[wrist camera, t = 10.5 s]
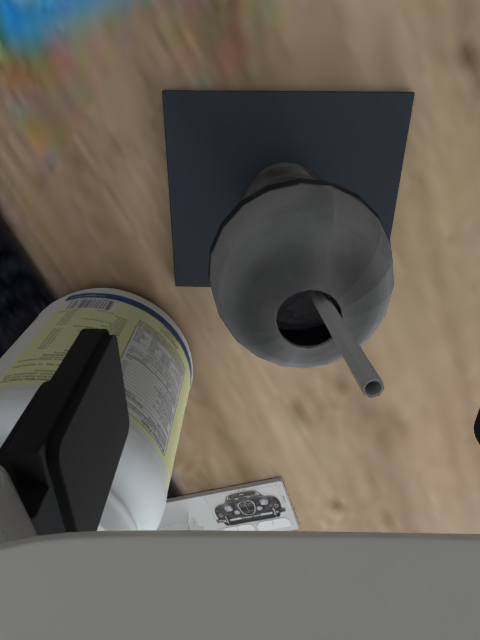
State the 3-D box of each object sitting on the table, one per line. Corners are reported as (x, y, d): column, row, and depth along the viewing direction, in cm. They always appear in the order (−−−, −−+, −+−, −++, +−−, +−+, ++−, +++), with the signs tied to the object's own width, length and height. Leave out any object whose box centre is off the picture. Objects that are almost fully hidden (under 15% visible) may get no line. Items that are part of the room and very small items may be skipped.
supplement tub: (112, 437, 39) (22, 665, 24) (1, 336, 34) (-194, 539, 19) (228, 372, 35) (206, 592, 20) (120, 248, 30) (-8, 416, 16)
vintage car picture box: (153, 549, 46) (144, 594, 42) (126, 506, 43) (113, 550, 39) (299, 524, 43) (303, 570, 39) (281, 476, 40) (283, 520, 36)
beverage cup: (200, 191, 28) (107, 393, 10) (296, 108, 26) (383, 192, 8) (273, 276, 31) (295, 553, 13) (366, 208, 28) (546, 435, 11)
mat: (176, 283, 32) (175, 286, 31) (163, 90, 26) (162, 90, 25) (379, 287, 31) (381, 290, 31) (412, 92, 26) (415, 92, 25)
